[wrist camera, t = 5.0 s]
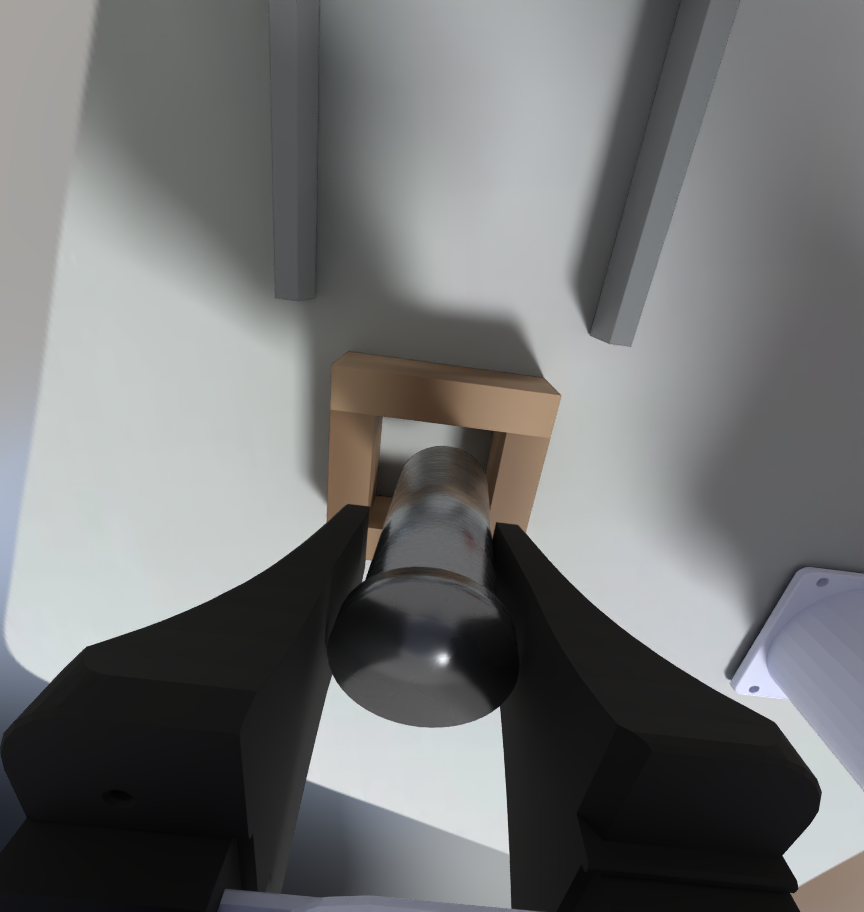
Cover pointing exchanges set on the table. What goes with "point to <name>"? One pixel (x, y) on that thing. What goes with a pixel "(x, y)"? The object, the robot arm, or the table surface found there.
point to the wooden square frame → (444, 402)
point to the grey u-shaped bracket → (651, 190)
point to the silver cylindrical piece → (429, 604)
